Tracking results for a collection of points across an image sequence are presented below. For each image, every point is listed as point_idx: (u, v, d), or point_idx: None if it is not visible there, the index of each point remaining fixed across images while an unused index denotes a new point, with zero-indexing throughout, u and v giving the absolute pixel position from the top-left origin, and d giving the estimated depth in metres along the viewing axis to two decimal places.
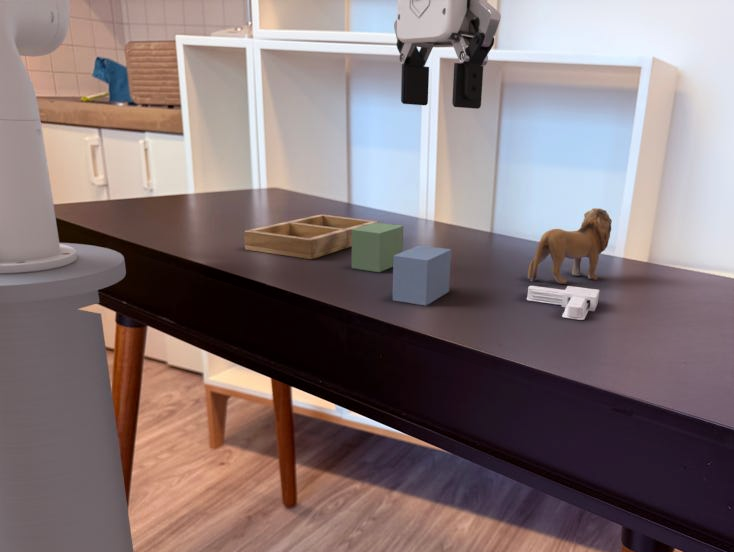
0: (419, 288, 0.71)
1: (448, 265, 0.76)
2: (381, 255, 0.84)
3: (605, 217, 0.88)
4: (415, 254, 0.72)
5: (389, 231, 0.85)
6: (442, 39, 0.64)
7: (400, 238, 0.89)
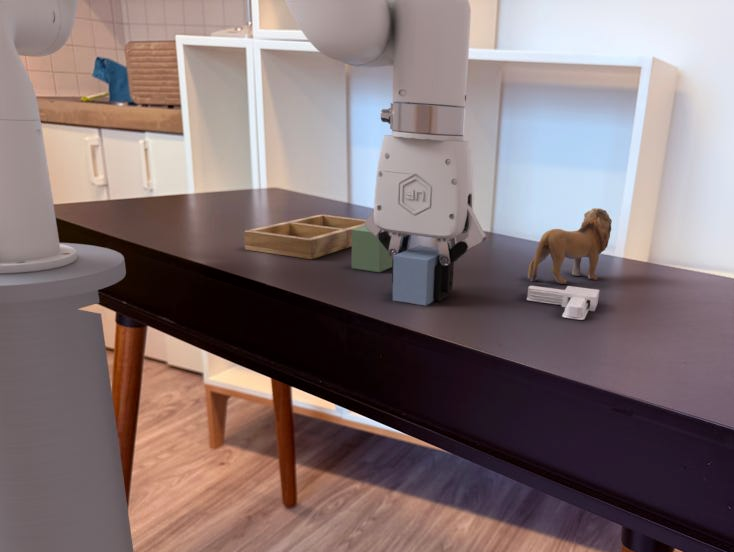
0: (420, 288, 0.71)
1: None
2: (381, 255, 0.84)
3: (605, 217, 0.88)
4: (415, 254, 0.72)
5: None
6: (447, 238, 0.69)
7: None
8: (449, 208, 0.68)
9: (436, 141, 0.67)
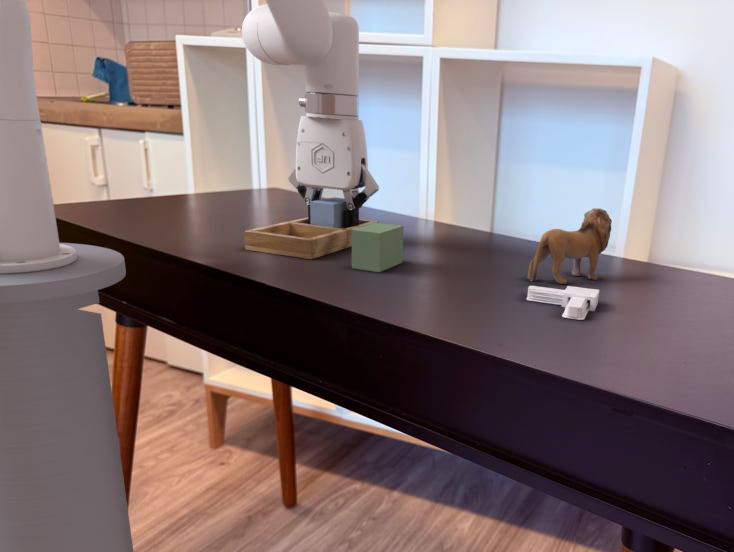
0: (329, 225, 0.99)
1: None
2: (381, 255, 0.84)
3: (605, 217, 0.88)
4: (327, 201, 1.00)
5: (389, 231, 0.85)
6: (346, 189, 0.97)
7: (400, 238, 0.89)
8: (346, 167, 0.96)
9: (335, 119, 0.94)
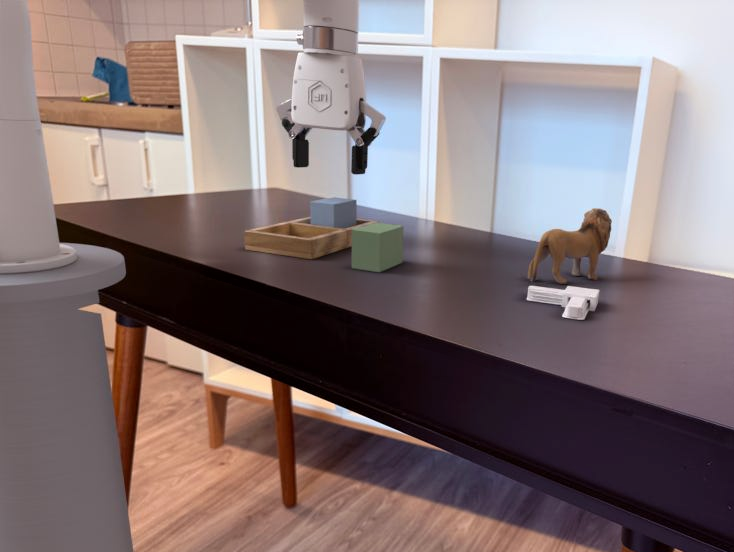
0: (329, 225, 0.99)
1: (354, 211, 1.04)
2: (381, 255, 0.84)
3: (605, 217, 0.88)
4: (327, 201, 1.00)
5: (389, 231, 0.85)
6: None
7: (400, 238, 0.89)
8: (344, 106, 0.93)
9: (334, 55, 0.91)
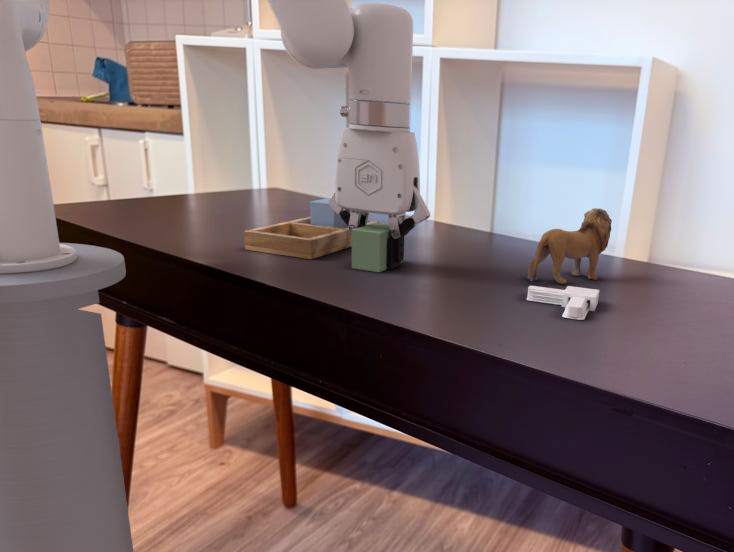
0: (329, 225, 0.99)
1: None
2: (381, 255, 0.84)
3: (605, 217, 0.88)
4: (327, 201, 1.00)
5: (389, 231, 0.85)
6: (396, 214, 0.82)
7: None
8: (397, 189, 0.81)
9: (385, 132, 0.79)
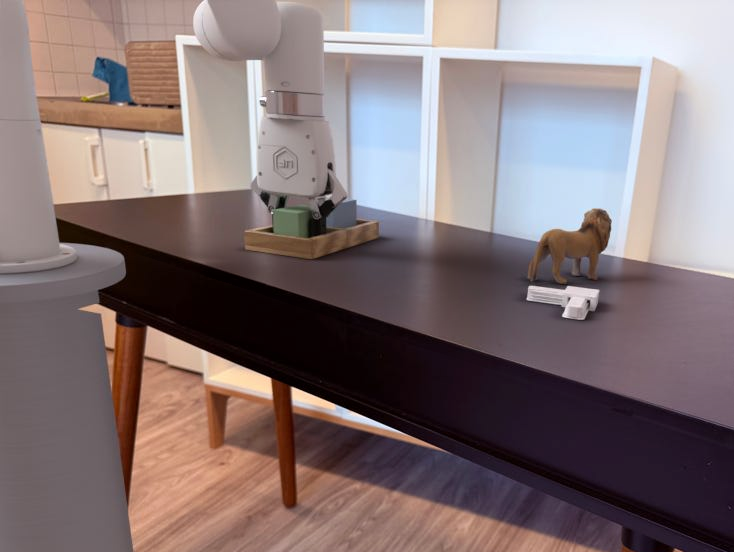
0: (329, 225, 0.99)
1: (354, 211, 1.04)
2: (300, 234, 0.91)
3: (605, 217, 0.88)
4: None
5: (309, 211, 0.92)
6: (311, 197, 0.89)
7: None
8: (311, 173, 0.88)
9: (298, 120, 0.86)
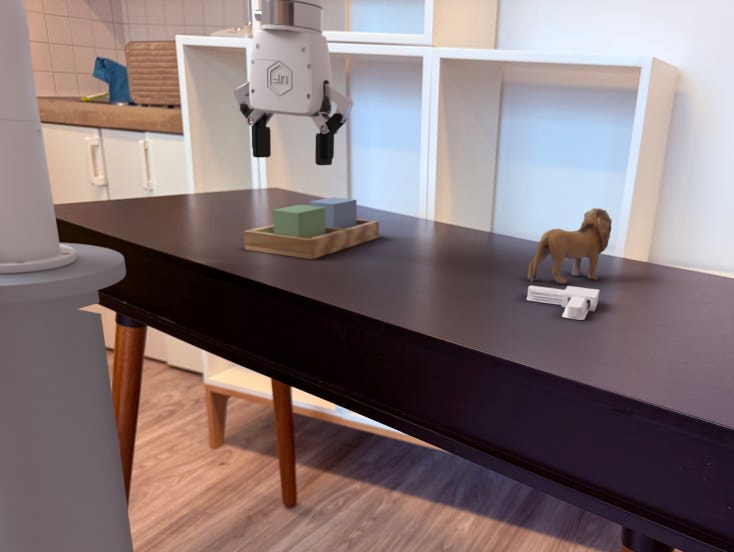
0: (329, 225, 0.99)
1: (354, 211, 1.04)
2: (300, 234, 0.91)
3: (605, 217, 0.88)
4: (327, 201, 1.00)
5: (309, 211, 0.92)
6: (306, 115, 0.85)
7: (322, 219, 0.95)
8: (306, 89, 0.84)
9: (294, 32, 0.82)
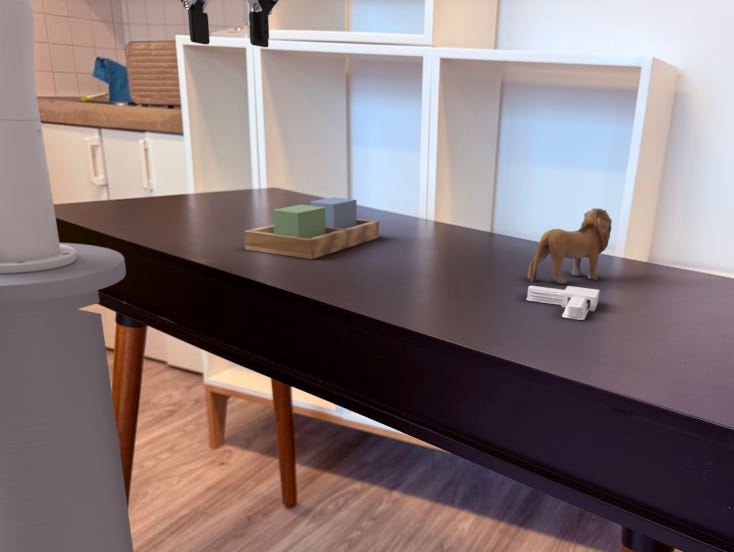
0: (329, 225, 0.99)
1: (354, 211, 1.04)
2: (300, 234, 0.91)
3: (605, 217, 0.88)
4: (327, 201, 1.00)
5: (309, 211, 0.92)
6: None
7: (322, 219, 0.95)
8: None
9: None
